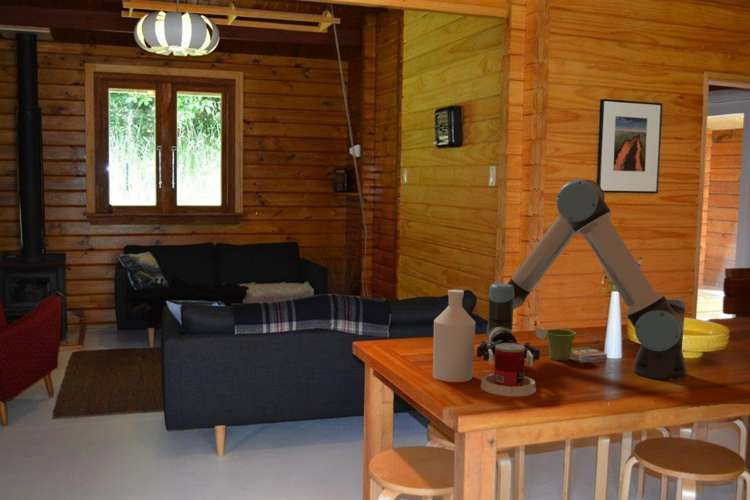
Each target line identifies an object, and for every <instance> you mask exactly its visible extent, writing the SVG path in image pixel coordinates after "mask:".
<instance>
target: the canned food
mask: <svg viewBox="0 0 750 500" xmlns="http://www.w3.org/2000/svg"><path fill="white" fill-rule="evenodd" d="M519 344H520V343H519ZM519 344H513V343H501V344H497V345H496V347H495V355H494V374H495V375H494V382H495V384H497V385H502V386H510V387H514V386H523V384H524V376H525V359H526V358H525V347H524V346H522V345H523V344H520V345H519Z"/></svg>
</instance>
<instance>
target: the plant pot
mask: <svg viewBox="0 0 750 500" xmlns="http://www.w3.org/2000/svg"><path fill="white" fill-rule="evenodd" d="M569 330H570V329H569ZM569 330H567V329H564V328H563V329H562V328H561V329H560V328H558V329H557V328H556V329H555V328H553V329H552V328H551V329H547V330H545V331H546V334H547V336H546V337H547V341H548V353H549V359H550V360H553V361H562V362H564V361H569V360H570V357H571V352H572V347H573V343H574V340H575V337H576V336H577V335H576V334H577V333H576V331H574V330H571V331H569Z"/></svg>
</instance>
